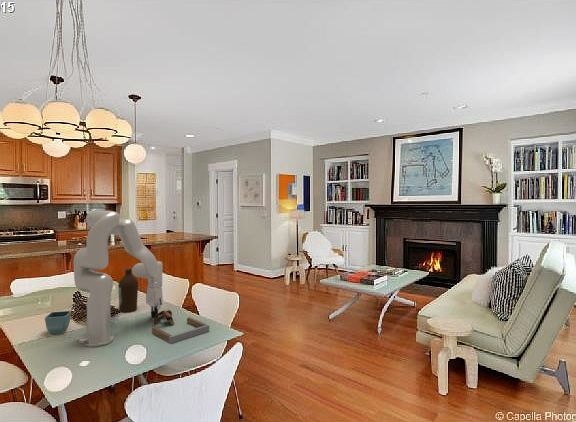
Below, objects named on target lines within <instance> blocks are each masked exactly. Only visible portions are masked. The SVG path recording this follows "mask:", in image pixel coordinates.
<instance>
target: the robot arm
mask: <svg viewBox="0 0 576 422" xmlns="http://www.w3.org/2000/svg"><path fill="white" fill-rule="evenodd" d="M85 222H86V224H87V226H89V228H90V229H89V231H88V234H87V236H86V247H82V248H80V249H79V250H77V252H76V253H75V255H74V257H73V279H74V285H75V287H76V289H78V290H79V291H81V292H85V293H88V294H89V297H88V299H87V302H86V332H84V335H82V336H77V337H74V339H73V341H74V343H78V342H79V343H82V345H83V346H85V347H89V348H97V347H103V346H105V345H108V344H111V343H112V342H113V341H114V339H115V336H114V335H113V334H111V298H112V291H113V287H114V280H113V278H112V277H111V275H110V274H108V273H105V272H99V271H102V270H104V269H106V268H107V267H108V265H109V237H110V235H113V236H118V237H119V238H120V241H121V242H122V245H123V247H124V250H125V251H126V253H127V254H129V255H131V256H132V257H134V258H136V259H138V260H139V261H140V262H139V263H136V264H135V265H134V266H133V267H131V268H132V269H131V270H132V275H133V276H134V277H135V278H141V279H146V280H147V287H146V294H145V303H146V304H147V305H148V306H149V307H150V318H151V319H153V318H154V317H155V315H157V314H158V313H159V310H160V309H161V308H162V307H161V306H163V301H164V299H163V298H164V297H163V269H164V268H163V262H162V261H159V260H157V259H156V257H155V255H154V254H153V253H152V251H150V249H149V248H147V246H145V244H144V243H143V241H142V239H141V238H142V237H141V236H140V233H139V231H138V228H137V226H136V223H135V222H134V221H133V220H132V219H129V218H124V217H123V218H121V216H120V214H119V213H118V212H116V211H113V210H99V209H98V210H97V209H95V210H91V211H89V213H87V215H86V217H85ZM155 318H156V317H155Z"/></svg>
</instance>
